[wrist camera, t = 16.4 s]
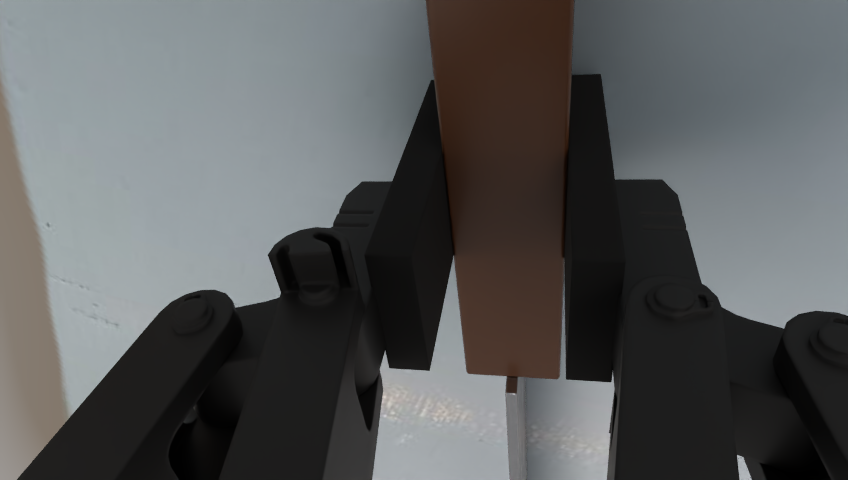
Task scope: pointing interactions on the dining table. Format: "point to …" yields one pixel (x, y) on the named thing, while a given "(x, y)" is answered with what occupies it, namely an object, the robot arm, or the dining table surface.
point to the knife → (506, 184)
